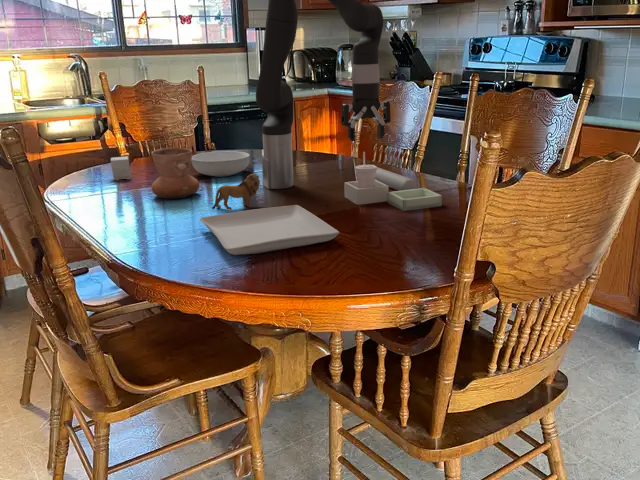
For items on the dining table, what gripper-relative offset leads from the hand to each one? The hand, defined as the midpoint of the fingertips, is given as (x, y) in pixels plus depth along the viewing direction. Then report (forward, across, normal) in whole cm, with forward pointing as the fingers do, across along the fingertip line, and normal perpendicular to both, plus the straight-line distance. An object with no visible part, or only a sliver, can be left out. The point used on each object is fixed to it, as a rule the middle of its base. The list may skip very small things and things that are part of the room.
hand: (366, 139), depth 169 cm
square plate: (+18, +36, +22) cm, 46 cm away
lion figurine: (+18, +37, -8) cm, 42 cm away
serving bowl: (+17, +33, -54) cm, 66 cm away
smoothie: (+18, 0, 0) cm, 18 cm away
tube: (+18, -13, -12) cm, 25 cm away
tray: (+18, -10, +11) cm, 23 cm away
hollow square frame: (+18, 0, 0) cm, 18 cm away
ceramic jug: (+17, +52, -29) cm, 62 cm away
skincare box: (+17, +67, -63) cm, 94 cm away
